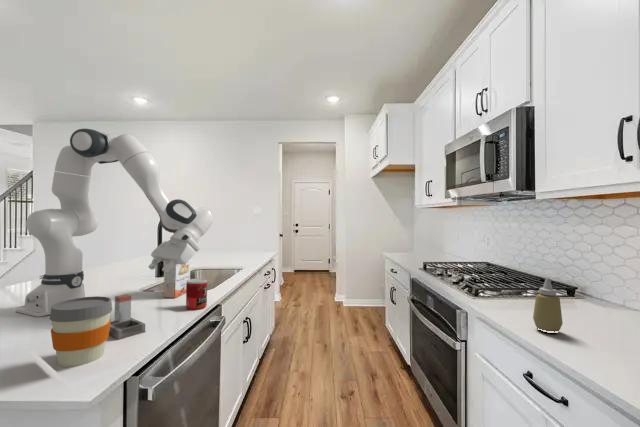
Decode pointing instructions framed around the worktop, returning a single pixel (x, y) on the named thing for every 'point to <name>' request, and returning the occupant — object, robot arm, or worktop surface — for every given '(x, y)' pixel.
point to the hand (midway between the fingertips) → (157, 269)
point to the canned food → (196, 294)
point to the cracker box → (176, 280)
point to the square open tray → (126, 329)
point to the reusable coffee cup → (80, 329)
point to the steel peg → (122, 308)
